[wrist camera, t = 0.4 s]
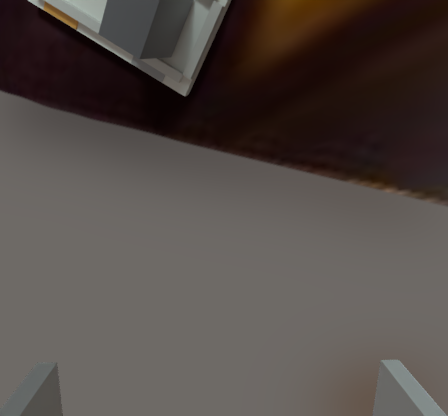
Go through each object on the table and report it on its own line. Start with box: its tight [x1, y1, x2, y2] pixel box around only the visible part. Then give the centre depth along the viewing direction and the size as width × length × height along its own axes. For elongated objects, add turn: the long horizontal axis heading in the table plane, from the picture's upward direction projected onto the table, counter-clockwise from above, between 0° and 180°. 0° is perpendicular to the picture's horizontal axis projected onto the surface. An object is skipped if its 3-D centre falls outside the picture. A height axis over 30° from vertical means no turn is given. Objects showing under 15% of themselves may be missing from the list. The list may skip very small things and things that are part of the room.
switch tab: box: [98, 0, 194, 59], centre depth 28 cm, size 4×6×8 cm, turn 152°
